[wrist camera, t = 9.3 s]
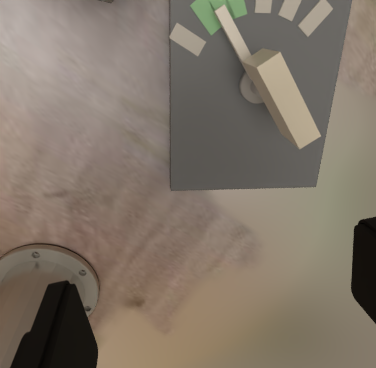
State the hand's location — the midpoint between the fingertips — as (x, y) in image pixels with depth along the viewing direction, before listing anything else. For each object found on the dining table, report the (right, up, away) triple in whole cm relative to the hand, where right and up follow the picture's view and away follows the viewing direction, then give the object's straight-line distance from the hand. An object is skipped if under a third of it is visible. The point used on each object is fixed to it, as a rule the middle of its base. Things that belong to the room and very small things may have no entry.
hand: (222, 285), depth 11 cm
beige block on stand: (+4, +14, +20) cm, 25 cm away
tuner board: (+5, +13, +22) cm, 26 cm away
